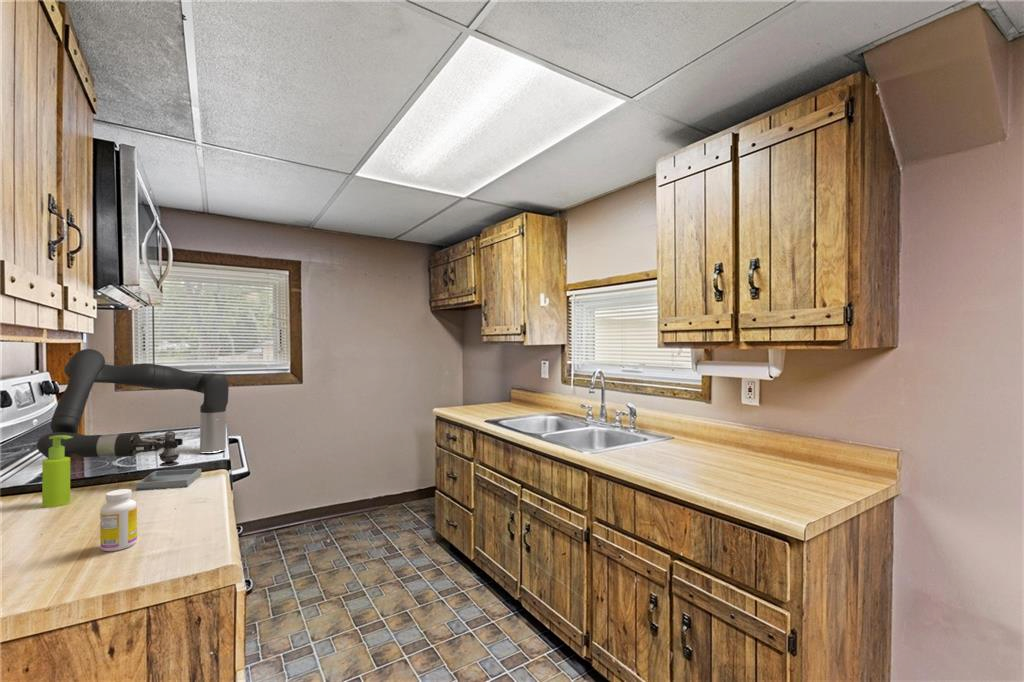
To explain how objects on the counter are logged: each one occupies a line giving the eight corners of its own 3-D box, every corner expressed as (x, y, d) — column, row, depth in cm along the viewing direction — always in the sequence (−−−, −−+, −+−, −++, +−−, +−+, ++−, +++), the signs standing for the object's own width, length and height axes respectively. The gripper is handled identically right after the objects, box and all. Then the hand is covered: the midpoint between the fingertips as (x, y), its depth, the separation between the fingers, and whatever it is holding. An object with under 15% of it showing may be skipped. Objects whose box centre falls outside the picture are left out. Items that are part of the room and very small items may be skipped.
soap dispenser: (60, 508, 135) (60, 438, 135) (36, 507, 135) (36, 437, 135) (79, 500, 141) (79, 433, 141) (56, 500, 141) (56, 433, 141)
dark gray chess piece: (168, 467, 156) (169, 430, 156) (153, 465, 157) (154, 429, 157) (184, 463, 161) (185, 427, 161) (169, 461, 163) (170, 426, 163)
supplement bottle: (132, 537, 117) (133, 485, 116) (140, 545, 112) (140, 491, 112) (97, 546, 111) (97, 492, 111) (103, 555, 107) (103, 498, 107)
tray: (154, 478, 164) (154, 471, 164) (201, 475, 168) (201, 468, 168) (136, 490, 151) (136, 483, 151) (187, 487, 155) (187, 479, 155)
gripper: (107, 438, 148) (172, 436, 153) (129, 429, 162) (187, 428, 167) (107, 462, 148) (171, 459, 153) (128, 451, 162) (187, 449, 167)
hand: (179, 443), depth 160 cm, fingers closed on dark gray chess piece, 3 cm apart
